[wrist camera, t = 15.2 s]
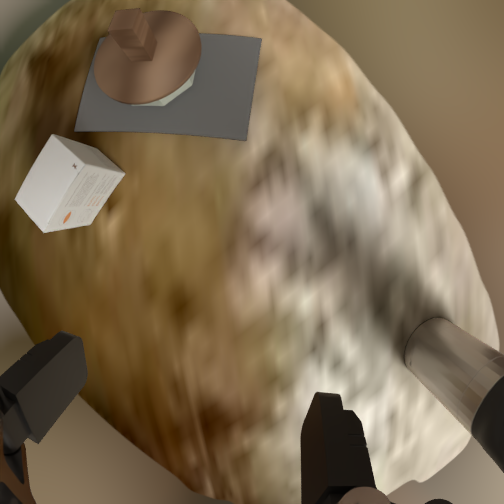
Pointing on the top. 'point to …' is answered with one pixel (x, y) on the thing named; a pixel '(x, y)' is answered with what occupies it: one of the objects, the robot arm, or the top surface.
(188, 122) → the mat
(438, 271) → the top surface
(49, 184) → the small box
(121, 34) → the lid
